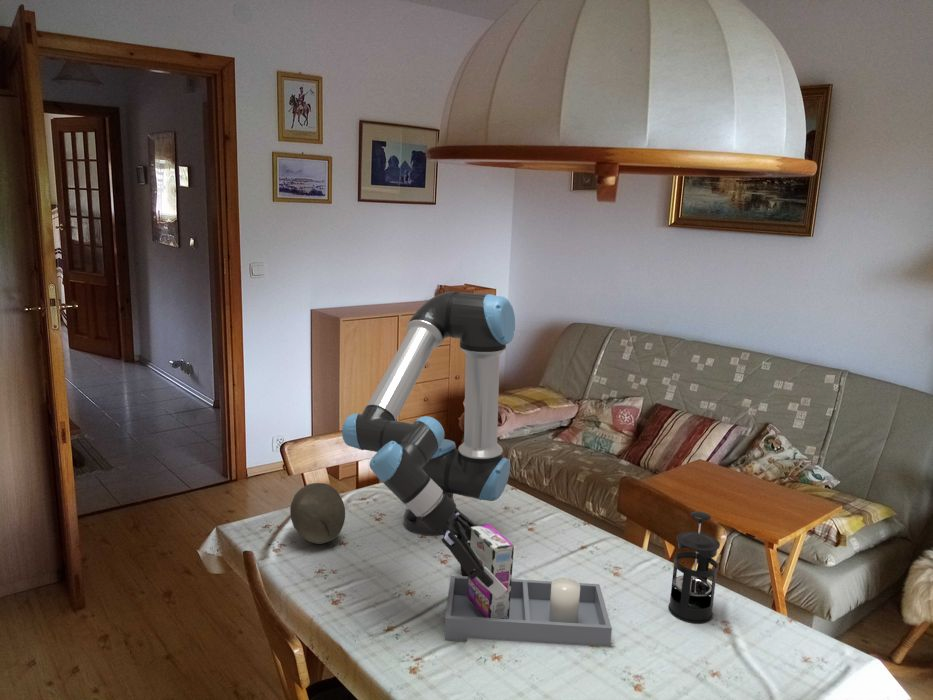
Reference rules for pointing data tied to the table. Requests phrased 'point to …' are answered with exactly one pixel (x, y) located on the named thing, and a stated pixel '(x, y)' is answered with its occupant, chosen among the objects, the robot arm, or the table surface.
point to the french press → (694, 575)
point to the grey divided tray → (528, 616)
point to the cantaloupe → (317, 513)
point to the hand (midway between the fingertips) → (501, 578)
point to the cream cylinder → (564, 600)
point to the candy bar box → (491, 570)
